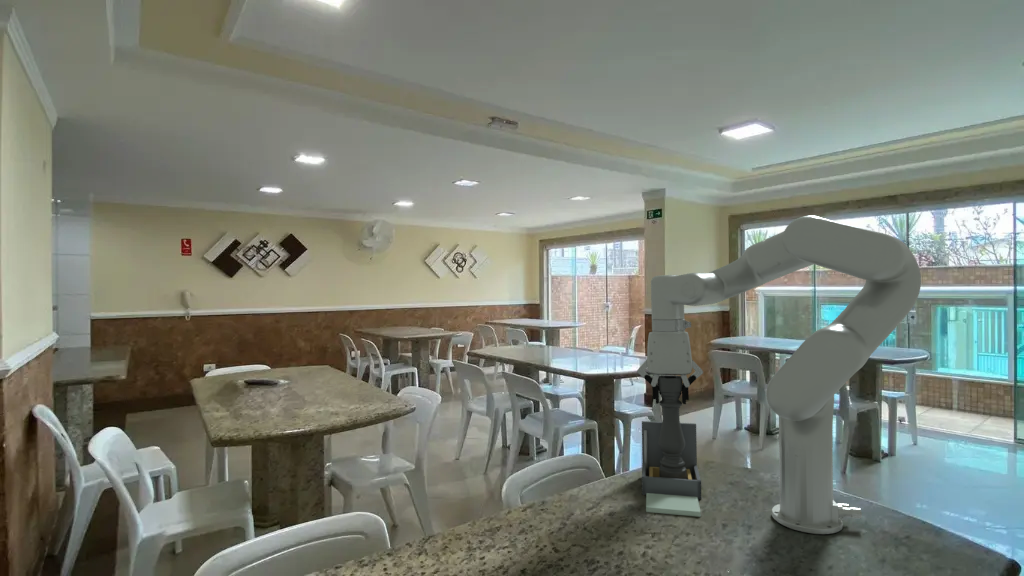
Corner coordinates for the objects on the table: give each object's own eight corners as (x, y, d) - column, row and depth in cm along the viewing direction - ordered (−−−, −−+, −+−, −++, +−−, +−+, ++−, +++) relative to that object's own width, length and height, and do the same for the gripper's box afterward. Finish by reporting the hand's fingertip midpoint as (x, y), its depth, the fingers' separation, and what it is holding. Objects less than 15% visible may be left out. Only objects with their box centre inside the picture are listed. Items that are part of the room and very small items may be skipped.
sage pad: (697, 501, 118) (697, 497, 118) (700, 516, 110) (700, 511, 110) (646, 497, 121) (646, 492, 121) (646, 511, 113) (646, 507, 113)
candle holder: (691, 481, 126) (687, 376, 127) (679, 488, 122) (675, 379, 122) (667, 475, 131) (664, 374, 131) (654, 482, 126) (651, 377, 126)
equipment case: (696, 480, 131) (695, 423, 131) (701, 499, 119) (700, 437, 119) (642, 476, 134) (641, 421, 134) (642, 494, 123) (641, 433, 123)
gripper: (704, 325, 128) (707, 400, 128) (631, 326, 132) (634, 398, 132) (708, 327, 121) (710, 407, 121) (630, 328, 125) (633, 405, 125)
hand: (670, 402), depth 126 cm, fingers closed on candle holder, 5 cm apart
